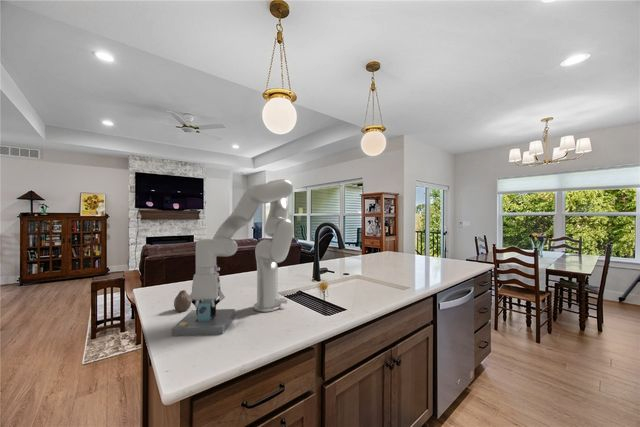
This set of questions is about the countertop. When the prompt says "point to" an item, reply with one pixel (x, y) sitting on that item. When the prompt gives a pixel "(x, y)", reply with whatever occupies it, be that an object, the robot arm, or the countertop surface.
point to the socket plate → (204, 323)
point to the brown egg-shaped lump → (182, 301)
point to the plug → (204, 311)
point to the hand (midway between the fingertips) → (206, 315)
